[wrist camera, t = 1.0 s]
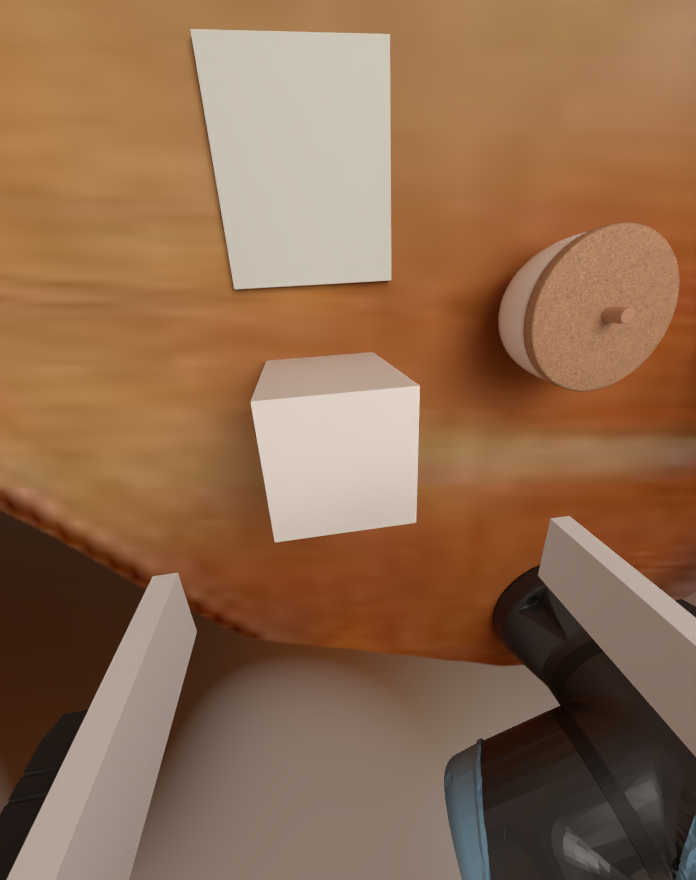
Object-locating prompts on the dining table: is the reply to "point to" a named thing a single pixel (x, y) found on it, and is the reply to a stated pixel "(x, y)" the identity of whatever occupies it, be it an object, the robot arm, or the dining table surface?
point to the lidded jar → (591, 306)
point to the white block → (337, 444)
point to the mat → (300, 153)
